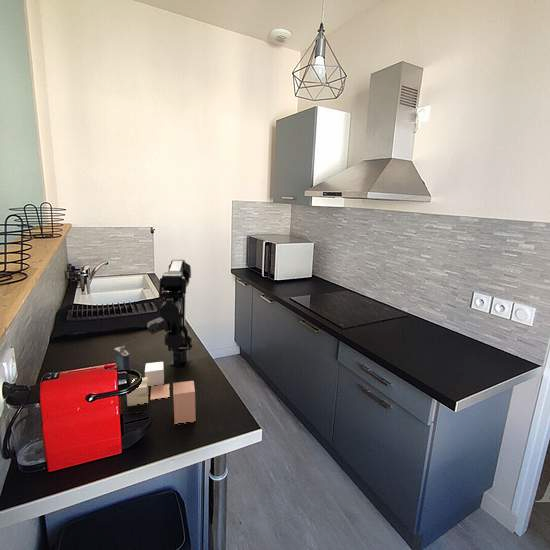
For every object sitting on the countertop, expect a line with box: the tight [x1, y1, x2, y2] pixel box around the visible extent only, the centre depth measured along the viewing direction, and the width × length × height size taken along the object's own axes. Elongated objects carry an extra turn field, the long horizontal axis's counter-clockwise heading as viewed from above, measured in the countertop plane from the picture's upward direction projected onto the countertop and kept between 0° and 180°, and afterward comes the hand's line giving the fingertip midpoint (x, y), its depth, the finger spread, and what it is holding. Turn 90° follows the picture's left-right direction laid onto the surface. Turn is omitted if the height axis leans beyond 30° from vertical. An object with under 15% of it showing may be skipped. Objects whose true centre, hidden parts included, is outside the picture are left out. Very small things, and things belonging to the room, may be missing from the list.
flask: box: [113, 345, 131, 371], centre depth 122 cm, size 9×3×11 cm, turn 48°
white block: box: [144, 361, 165, 386], centre depth 118 cm, size 6×6×6 cm
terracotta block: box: [172, 380, 197, 425], centre depth 99 cm, size 6×6×10 cm
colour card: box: [150, 383, 171, 401], centre depth 112 cm, size 8×6×1 cm
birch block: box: [126, 376, 150, 407], centre depth 107 cm, size 6×6×6 cm
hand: (175, 352), depth 115 cm, fingers closed
